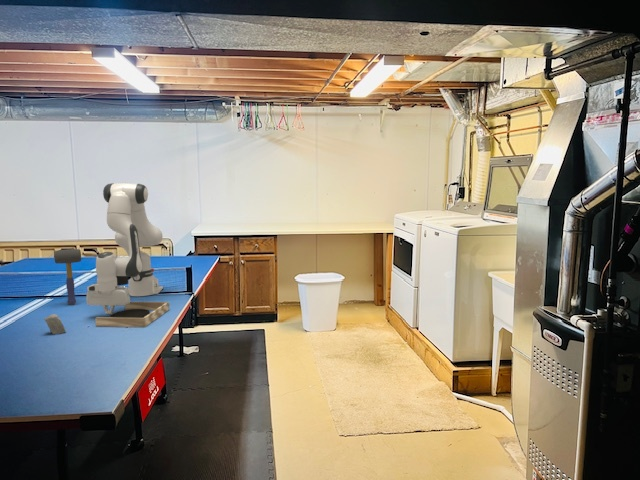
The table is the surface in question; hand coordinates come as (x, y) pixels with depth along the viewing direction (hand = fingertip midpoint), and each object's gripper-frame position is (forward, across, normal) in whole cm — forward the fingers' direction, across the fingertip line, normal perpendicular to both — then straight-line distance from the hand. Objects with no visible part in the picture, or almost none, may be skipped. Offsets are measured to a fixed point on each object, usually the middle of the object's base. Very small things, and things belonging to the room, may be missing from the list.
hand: (109, 314), depth 223 cm
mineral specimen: (+2, +12, +23) cm, 26 cm away
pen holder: (+2, +31, -71) cm, 77 cm away
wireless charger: (+2, -10, 0) cm, 11 cm away
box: (+2, -12, 0) cm, 12 cm away
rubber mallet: (+2, +33, -22) cm, 40 cm away
